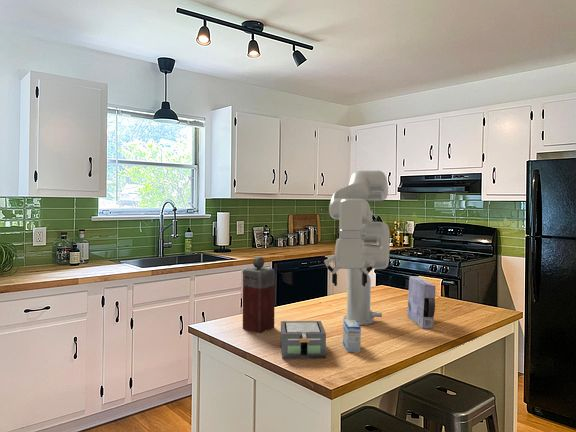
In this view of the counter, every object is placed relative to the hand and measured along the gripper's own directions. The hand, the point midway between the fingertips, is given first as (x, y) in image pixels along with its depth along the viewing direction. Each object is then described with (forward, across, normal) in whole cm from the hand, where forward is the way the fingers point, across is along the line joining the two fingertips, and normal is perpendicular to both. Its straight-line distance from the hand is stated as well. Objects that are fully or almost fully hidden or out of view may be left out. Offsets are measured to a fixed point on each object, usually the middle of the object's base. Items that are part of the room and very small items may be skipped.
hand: (349, 285), depth 150 cm
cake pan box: (+21, -34, -30) cm, 50 cm away
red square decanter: (+21, +33, -22) cm, 45 cm away
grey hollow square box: (+22, +16, +3) cm, 27 cm away
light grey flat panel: (+15, +16, +5) cm, 22 cm away
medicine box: (+22, -1, 0) cm, 22 cm away
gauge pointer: (+16, +16, +11) cm, 25 cm away
